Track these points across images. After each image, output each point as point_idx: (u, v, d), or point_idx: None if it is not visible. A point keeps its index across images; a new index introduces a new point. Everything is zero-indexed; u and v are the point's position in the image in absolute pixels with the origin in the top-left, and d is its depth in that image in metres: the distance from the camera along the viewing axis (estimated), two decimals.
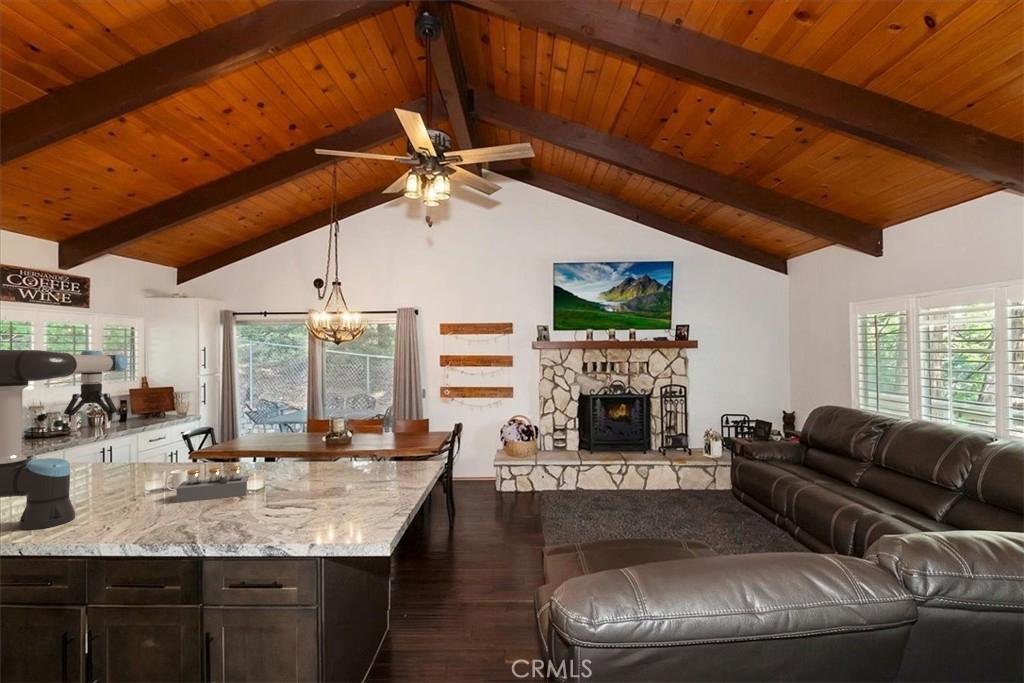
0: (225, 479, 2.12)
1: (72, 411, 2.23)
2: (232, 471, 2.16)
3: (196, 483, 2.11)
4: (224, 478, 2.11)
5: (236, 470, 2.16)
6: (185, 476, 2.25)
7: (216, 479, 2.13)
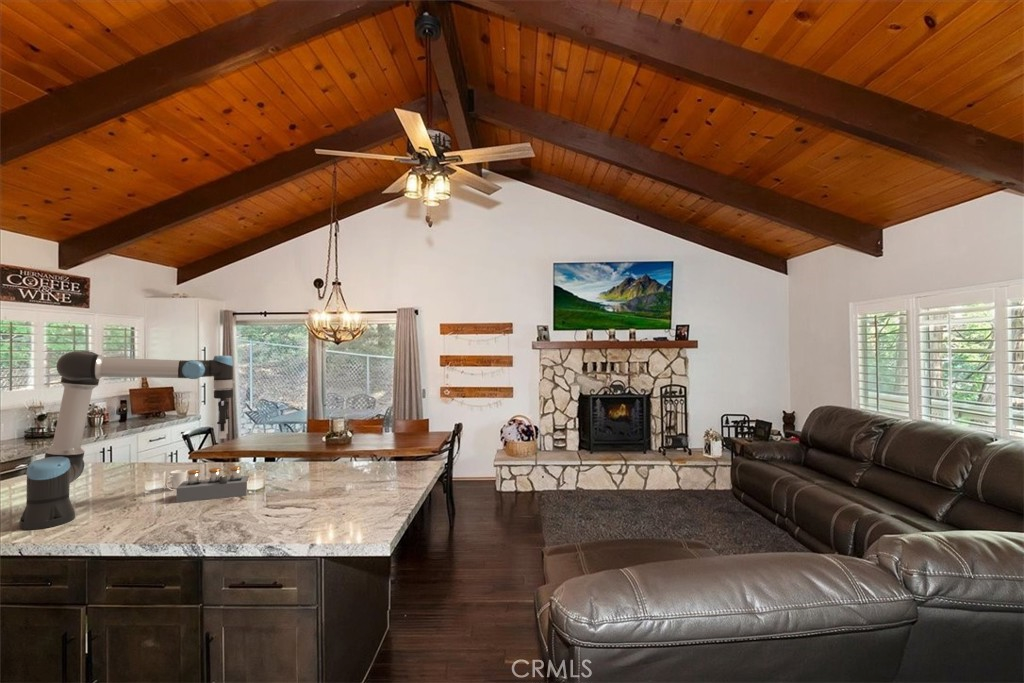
0: (225, 479, 2.12)
1: None
2: (232, 471, 2.16)
3: (196, 483, 2.11)
4: (224, 478, 2.11)
5: (236, 470, 2.16)
6: (185, 476, 2.25)
7: (216, 479, 2.13)
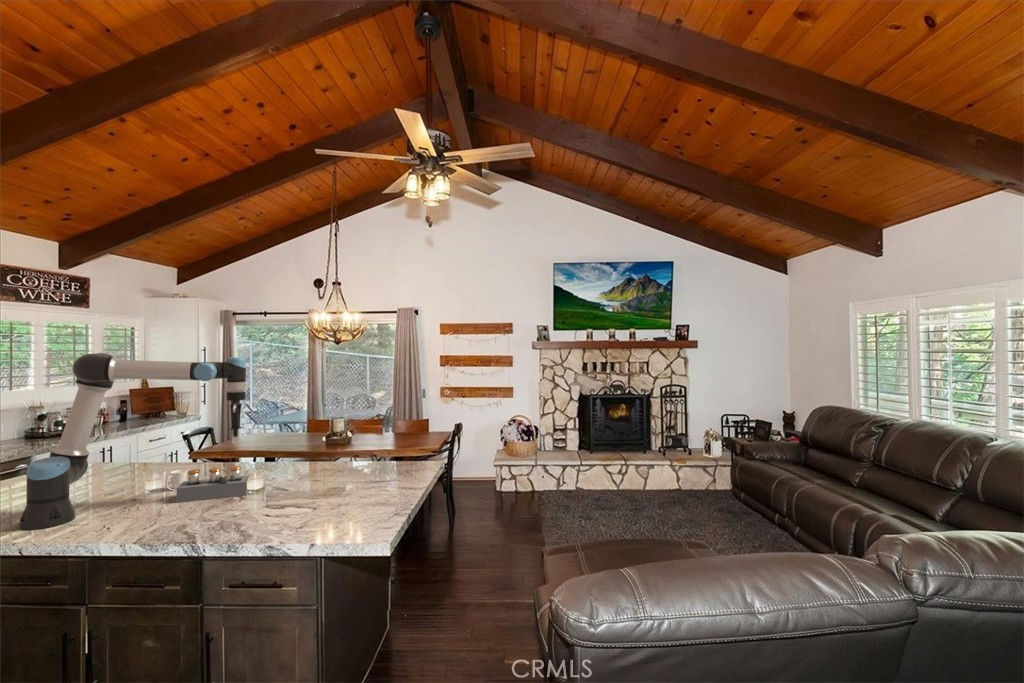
0: (225, 479, 2.12)
1: None
2: (232, 471, 2.16)
3: (196, 483, 2.11)
4: (224, 478, 2.11)
5: (236, 470, 2.16)
6: (185, 476, 2.25)
7: (216, 479, 2.13)
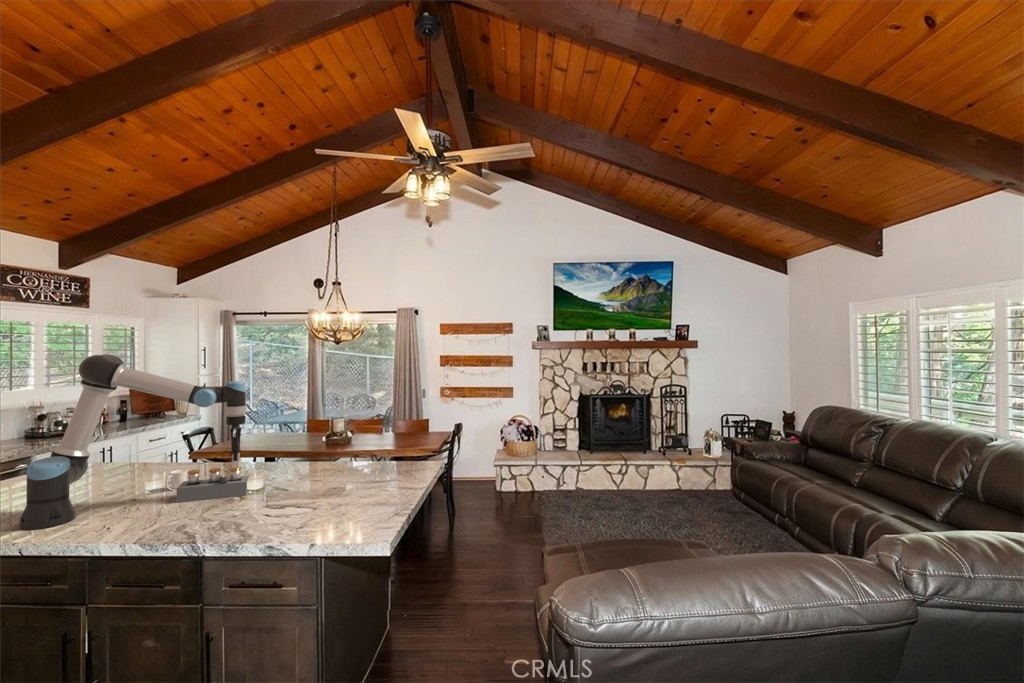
0: (225, 479, 2.12)
1: None
2: (232, 472, 2.16)
3: (196, 483, 2.11)
4: (224, 478, 2.11)
5: (236, 471, 2.16)
6: (185, 476, 2.25)
7: (216, 479, 2.13)
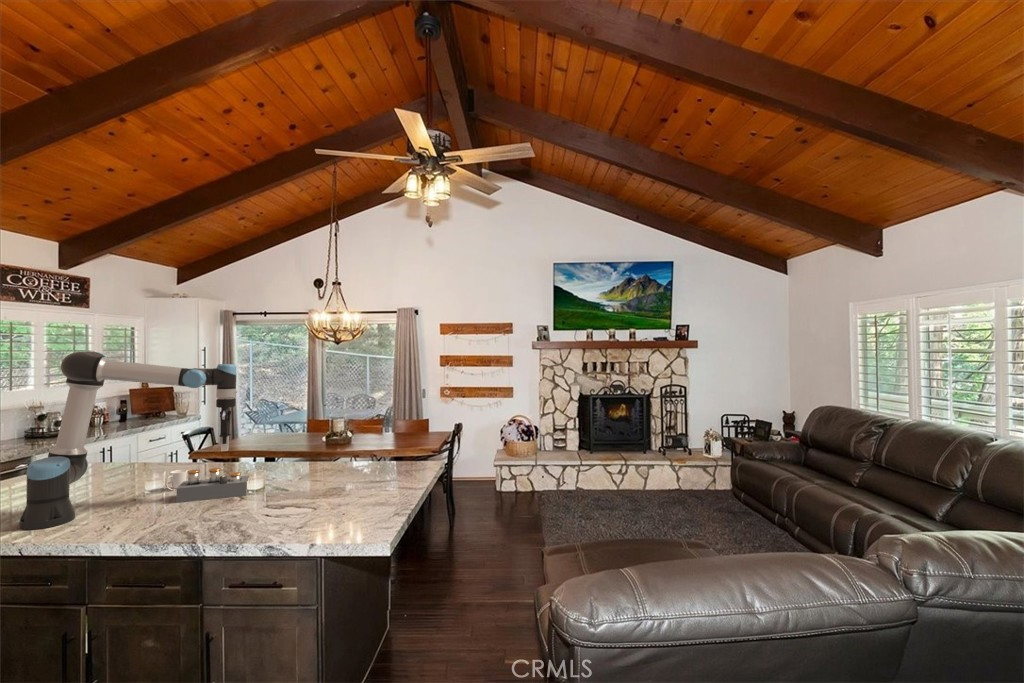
0: (225, 479, 2.12)
1: None
2: (232, 477, 2.16)
3: (196, 483, 2.11)
4: (224, 478, 2.11)
5: (236, 476, 2.16)
6: (185, 476, 2.25)
7: (216, 479, 2.13)
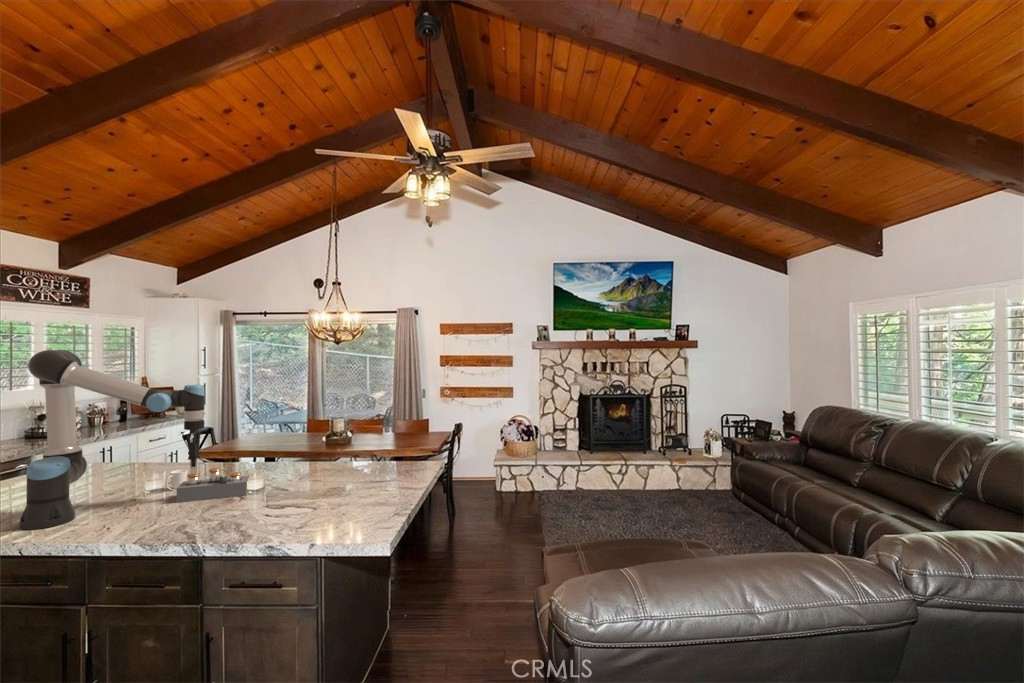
0: (225, 479, 2.12)
1: None
2: (232, 477, 2.16)
3: None
4: (224, 478, 2.11)
5: (236, 476, 2.16)
6: (185, 476, 2.25)
7: (216, 479, 2.13)
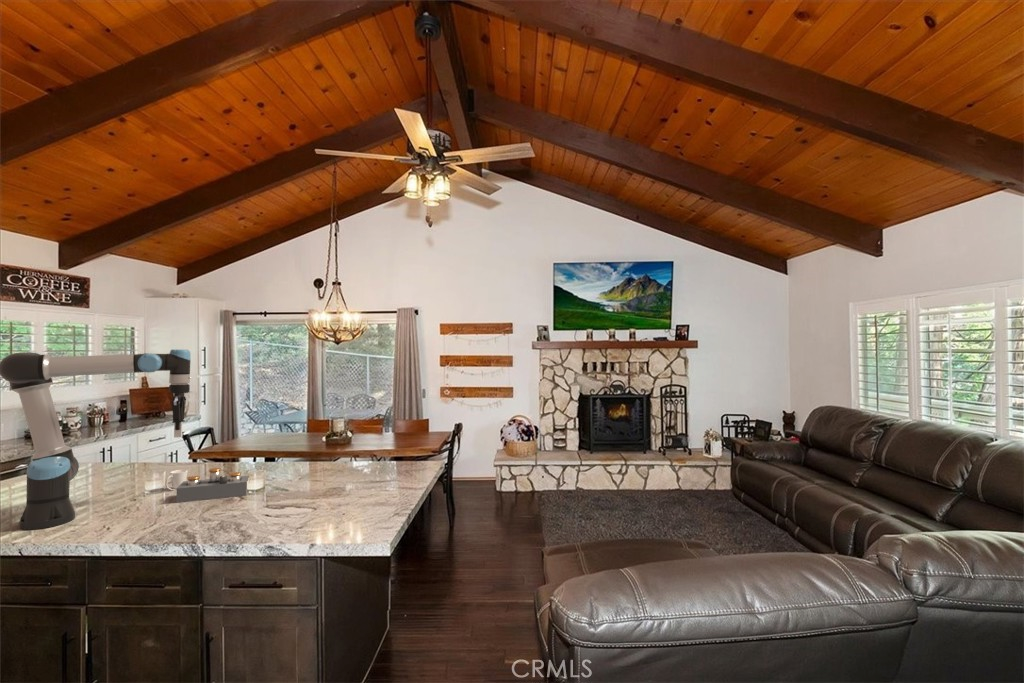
0: (225, 479, 2.12)
1: None
2: (232, 477, 2.16)
3: None
4: (224, 478, 2.11)
5: (236, 476, 2.16)
6: (185, 476, 2.25)
7: (216, 479, 2.13)
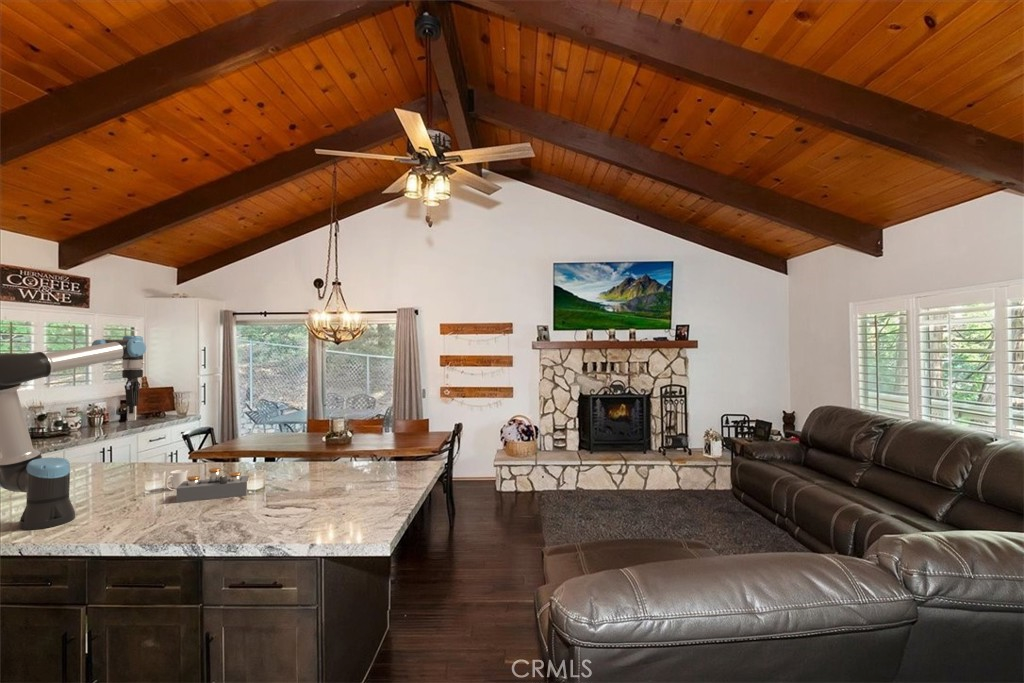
0: (225, 479, 2.12)
1: None
2: (232, 477, 2.16)
3: None
4: (224, 478, 2.11)
5: (236, 476, 2.16)
6: (185, 476, 2.25)
7: (216, 479, 2.13)
